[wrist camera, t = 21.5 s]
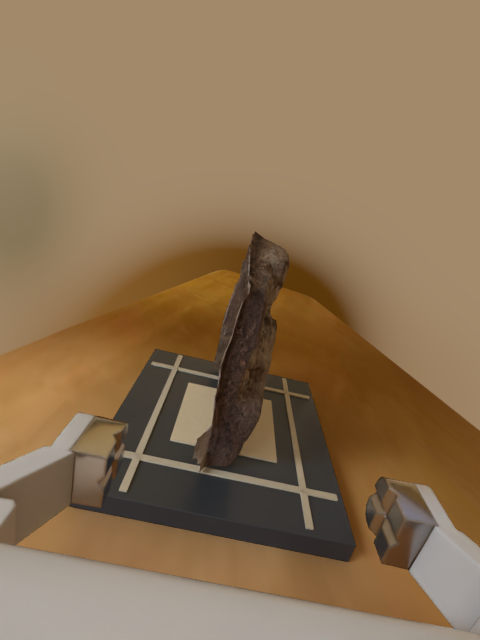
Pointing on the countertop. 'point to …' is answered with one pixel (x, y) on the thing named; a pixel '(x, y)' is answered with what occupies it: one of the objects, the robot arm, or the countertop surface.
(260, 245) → the mineral sample
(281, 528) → the board
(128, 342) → the countertop surface
